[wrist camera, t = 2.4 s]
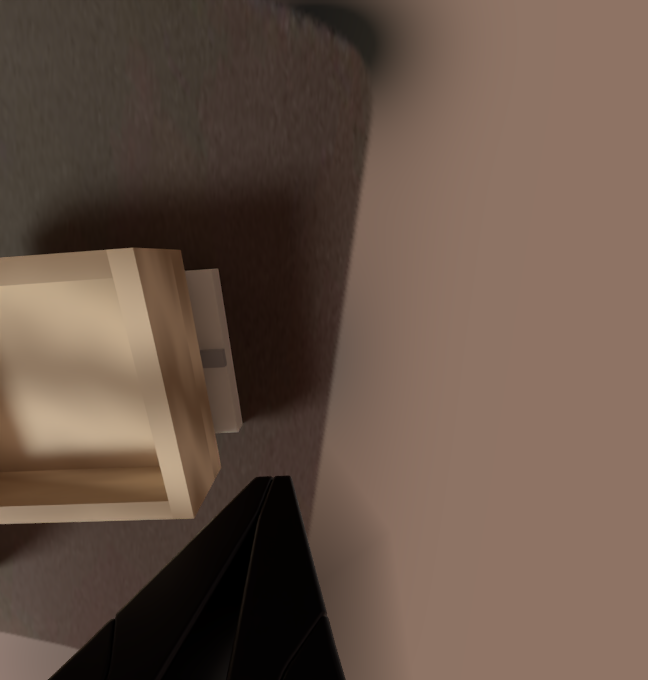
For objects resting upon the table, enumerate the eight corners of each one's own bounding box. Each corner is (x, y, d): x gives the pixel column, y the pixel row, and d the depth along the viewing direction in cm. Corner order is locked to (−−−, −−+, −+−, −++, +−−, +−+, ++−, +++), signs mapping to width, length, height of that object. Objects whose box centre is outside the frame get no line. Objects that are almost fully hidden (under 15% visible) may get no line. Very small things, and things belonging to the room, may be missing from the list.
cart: (231, 449, 19) (194, 518, 14) (34, 457, 20) (-69, 525, 15) (196, 250, 16) (132, 247, 11) (-37, 267, 16) (-199, 272, 11)
